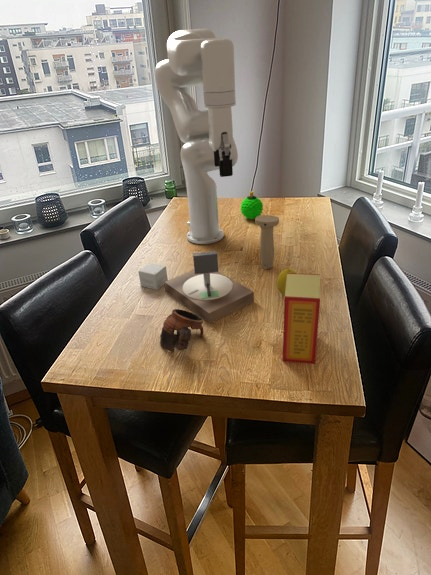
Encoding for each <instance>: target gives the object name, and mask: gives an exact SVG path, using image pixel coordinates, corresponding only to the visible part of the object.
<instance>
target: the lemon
mask: <svg viewBox="0 0 431 575" xmlns="http://www.w3.org/2000/svg"><path fill="white" fill-rule="evenodd" d="M287 273H297V272H296V271H295V270H293V269H291V268H287V269H283V270H282V271H280V272H279V274H278V275H277V276H278V277H277V279H276V286H277V290H278V291H279V293H280V294H282V296H285V289H286V280H287Z"/></svg>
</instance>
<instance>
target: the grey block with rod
mask: <svg viewBox="0 0 431 575" xmlns="http://www.w3.org/2000/svg"><path fill="white" fill-rule="evenodd" d="M192 258H193V270H194V271H195V274H201V273H203V274H204V285H205V286H206V287H207V293H208V297H210V296H211V293H210V287H209V286H210V285H211V283H210V273H211V272H220V271H219V257H218V251H217V250H213V251H205V252H204V251H203V252H194V253H192Z"/></svg>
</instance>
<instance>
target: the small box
mask: <svg viewBox="0 0 431 575" xmlns="http://www.w3.org/2000/svg"><path fill="white" fill-rule="evenodd" d="M137 273H138V276H139V277H138V278H139V282H140V287H144V288H147V289H152V290H156V291H157V290H159V289H160V288H161V287H162V286H164V285H165V283H164V282H165V281H168V280H169V279H168V272H167V266H166V265H162V264H157V263H152V262H149V263H148V264H146V265H145V266H144V267H142V268H140V269H139V270H138V271H137Z"/></svg>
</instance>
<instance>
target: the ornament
mask: <svg viewBox="0 0 431 575" xmlns="http://www.w3.org/2000/svg"><path fill="white" fill-rule="evenodd" d="M263 207H264V205H263V202H262V200H261V199H260V198H259V197H257V196H256V195H254V191H253V190H252V191H249V195H248V196H247V197H245V198H244V199H243V200H242V201H241V204H240V211H241V215H243V217H244V218H246V219H250V220H255V218H256V217H257V216H261V214H262V213H263V210H264V208H263Z"/></svg>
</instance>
